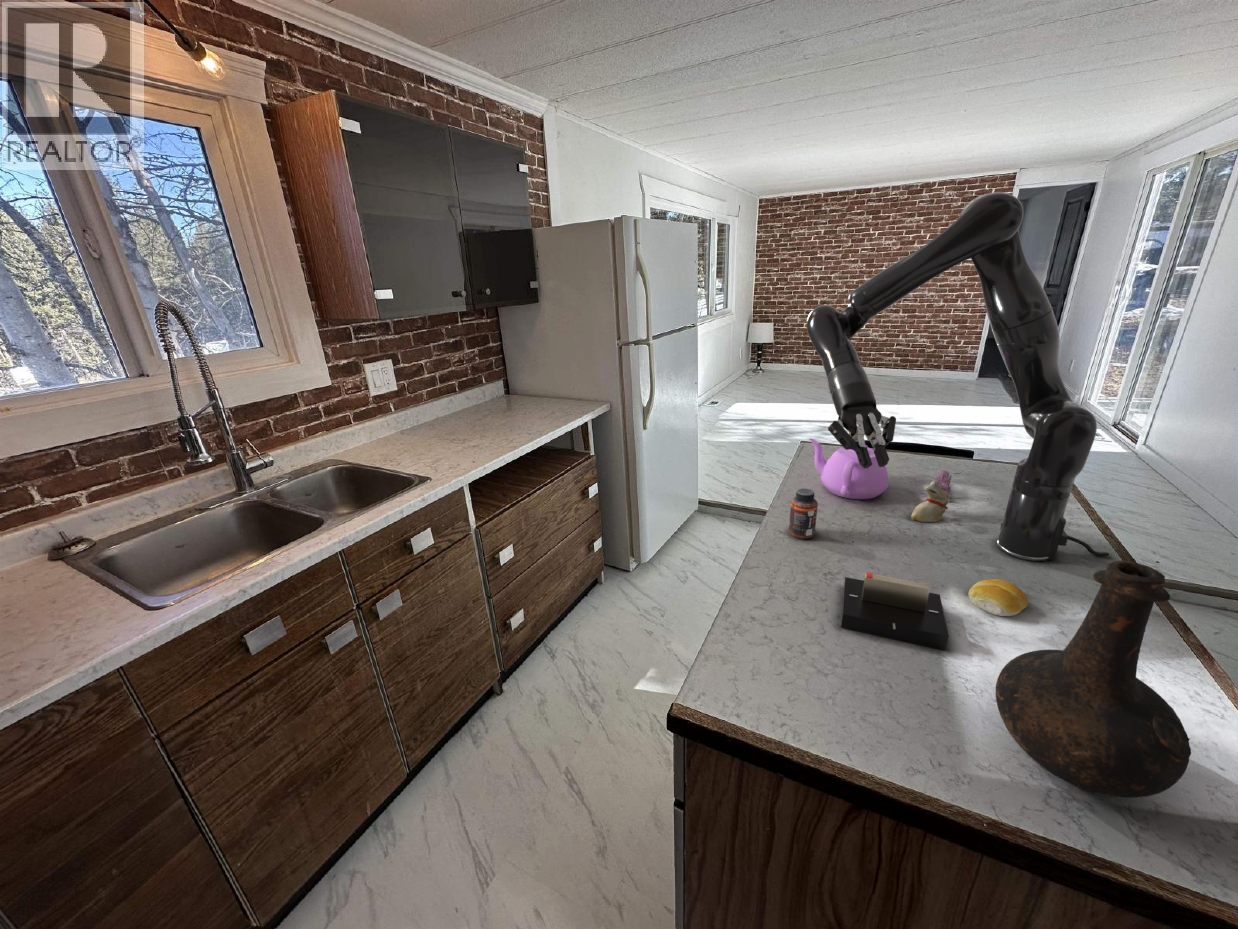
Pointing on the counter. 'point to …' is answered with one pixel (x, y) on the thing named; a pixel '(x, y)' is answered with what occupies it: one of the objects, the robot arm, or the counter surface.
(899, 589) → the red-tipped beige bar
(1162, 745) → the brown mottled bulbous container
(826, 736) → the counter surface
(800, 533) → the supplement bottle
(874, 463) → the teapot
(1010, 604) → the bread roll
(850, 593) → the black square dial panel
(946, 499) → the chocolate bunny
